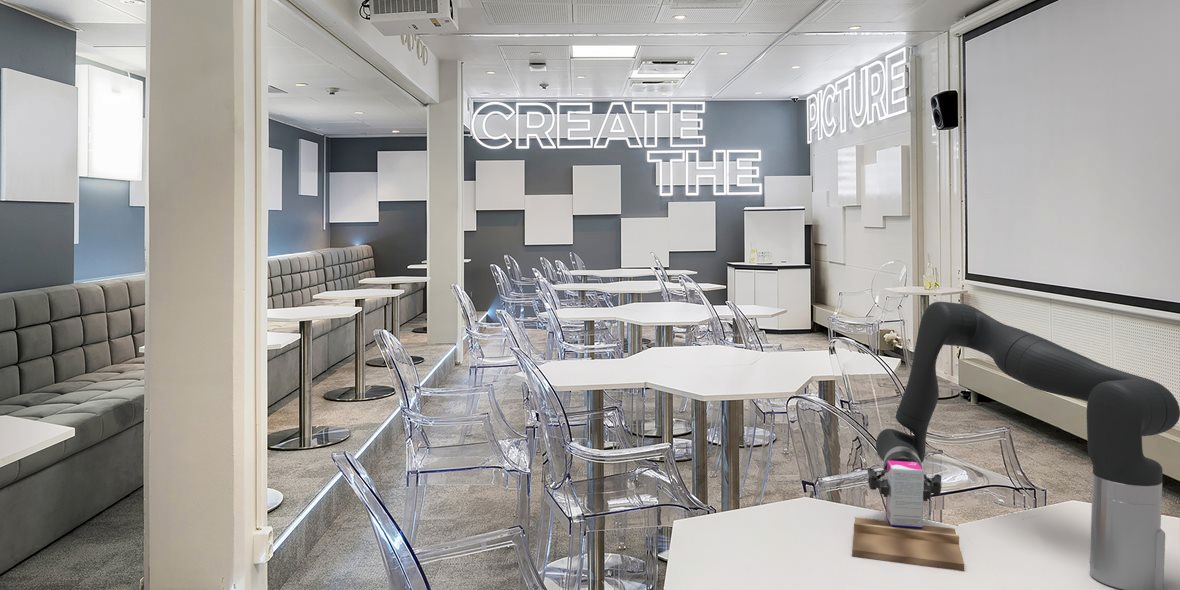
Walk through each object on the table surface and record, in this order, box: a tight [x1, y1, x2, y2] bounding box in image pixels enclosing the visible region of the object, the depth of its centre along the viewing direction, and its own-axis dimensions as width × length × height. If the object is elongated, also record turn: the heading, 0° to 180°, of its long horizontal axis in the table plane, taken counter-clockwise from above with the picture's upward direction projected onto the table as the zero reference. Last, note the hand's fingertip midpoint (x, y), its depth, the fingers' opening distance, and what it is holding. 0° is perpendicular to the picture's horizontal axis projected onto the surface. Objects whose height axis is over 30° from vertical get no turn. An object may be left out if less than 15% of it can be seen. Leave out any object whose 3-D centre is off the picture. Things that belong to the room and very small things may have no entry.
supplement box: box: [885, 461, 925, 529], centre depth 141 cm, size 6×6×12 cm
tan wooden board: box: [851, 517, 965, 572], centre depth 137 cm, size 18×17×3 cm
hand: (905, 493), depth 139 cm, fingers closed on supplement box, 6 cm apart
